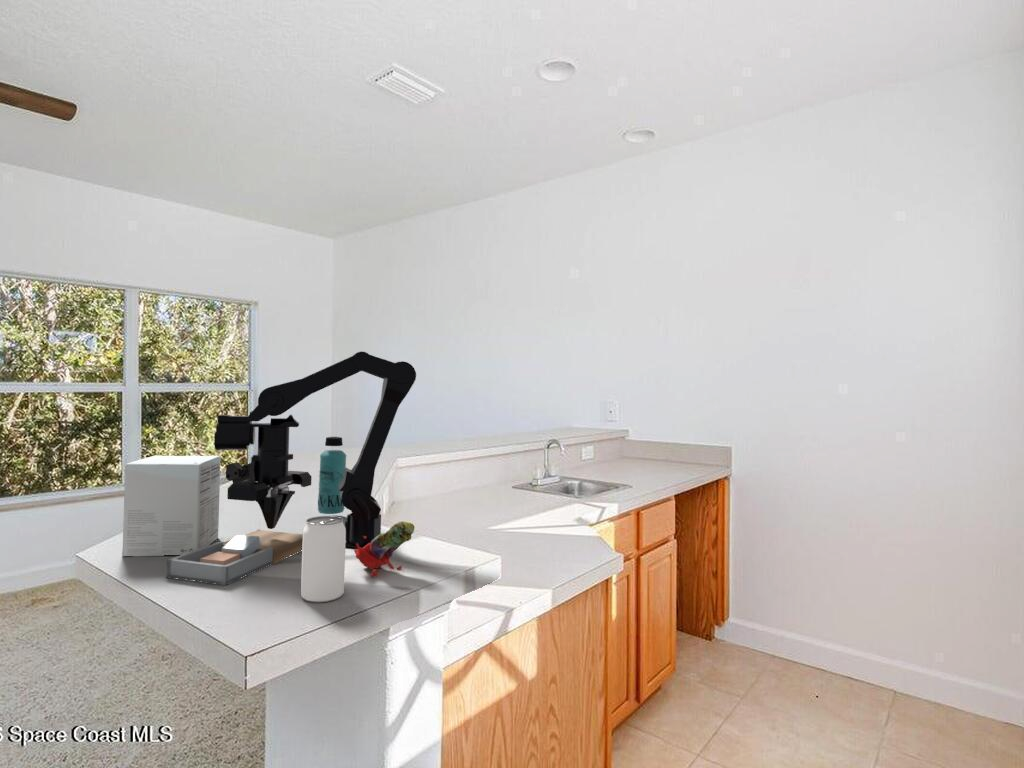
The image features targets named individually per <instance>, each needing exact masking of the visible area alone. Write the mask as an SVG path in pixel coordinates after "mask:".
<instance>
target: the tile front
mask: <svg viewBox="0 0 1024 768" xmlns="http://www.w3.org/2000/svg"><path fill="white" fill-rule="evenodd" d="M239 559H240V554H239V553H228V552H216V553H213V554H211V555H208V556H206V557H203V558H201V559H200V562H203V563H211V564H219V565H227V564H229V563H232V562H234V561H237V560H239Z"/></svg>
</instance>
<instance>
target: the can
mask: <svg viewBox="0 0 1024 768" xmlns="http://www.w3.org/2000/svg"><path fill="white" fill-rule="evenodd" d="M305 522H306V524H305V525H304V527H303V531H302V534H303V544H302V551H301V552H302V553H301V577H300V579H301V582H300V583H301V585H300V586H301V587H300V596H301V598H302V599H303V600H304V601H306V602H308V603H313V604H314V603H315V604H316V603H318V604H319V603H320V604H321V603H329V602H333V601H337V600H339V599H340V598H341V597H342V596H343V594H344V592H345V575H346V574H345V570H346V569H345V568H346V547H345V543H346V528H345V523H344V518H343V517H341V516H337V515H336V516H335V515H320V516H315V517H314V516H312V517H310V518H308V519H306V520H305Z"/></svg>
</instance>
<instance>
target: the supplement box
mask: <svg viewBox="0 0 1024 768" xmlns="http://www.w3.org/2000/svg"><path fill="white" fill-rule="evenodd" d="M220 488H221V455H159V454H158V455H152V456H149V457H145V458H141V459H137V460H135V461H130V462H127V463H125V464H124V494H123V495H124V497H123V523H122V524H123V525H122V526H123V528H122V549H121V550H122V553H121V556H122V557H123V556H133V557H165V556H164V555H183V554H186V553H188V552H191V551H194V550H197V549H200V548H203V547H206V546H208V545H211V544H213V543H214V542H215V541H216V540H217V539H219V525H220V523H219V522H220V521H219V520H220V519H219V518H220V491H221V489H220Z"/></svg>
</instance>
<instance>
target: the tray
mask: <svg viewBox="0 0 1024 768" xmlns="http://www.w3.org/2000/svg"><path fill="white" fill-rule="evenodd" d="M223 542H224V541H218V542H215V543H214V542H213V543H211V544H210V545H208V546H206V547H203V548H200V549H197V550H194V551H191V552H188V553H186V554H183V555H180V556H173V557H172V558H169V559H167V560H166V578H167V577H170V578H169V579H172V578H178V579H177V580H179V579H187V580H195V581H202V582H207V583H206V584H210V583H216V584H215V585H217V584H222V585H221V586H228V585H229V584H228V583H230V584H232V583H234V582H236V581H238V580H237V579H239V578H241V577H243V576H245V575H247V576H249V575H248V574H250V573H252V572H254V571H256V572H258V571H260V570H262V569H261V568H263V569H265V568H267V567H269V566H271V565H273V564H272V562H273V548H271V547H269V548H266V549H264V550H261V551H259V552H256V553H254V554H251V555H249V556H247V557H244V558H242V559H239V560H237V561H234V562H232V563H229V564H227V565H219V564H211V563H203V562H200V559H201V558H203V557H206V556H208V555H211V554H213V553H216V552H222V547H223ZM270 564H271V565H270ZM268 565H269V566H268ZM266 566H267V567H266ZM264 567H265V568H264ZM259 569H260V570H259ZM257 570H258V571H257ZM254 573H255V572H254ZM252 574H253V573H252ZM250 575H251V574H250ZM245 577H246V576H245ZM243 578H244V577H243ZM241 579H242V578H241ZM187 580H186V581H187ZM235 580H236V581H235ZM239 580H240V579H239ZM233 581H234V582H233ZM202 582H201V583H202ZM231 582H232V583H231ZM227 584H228V585H227Z"/></svg>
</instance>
